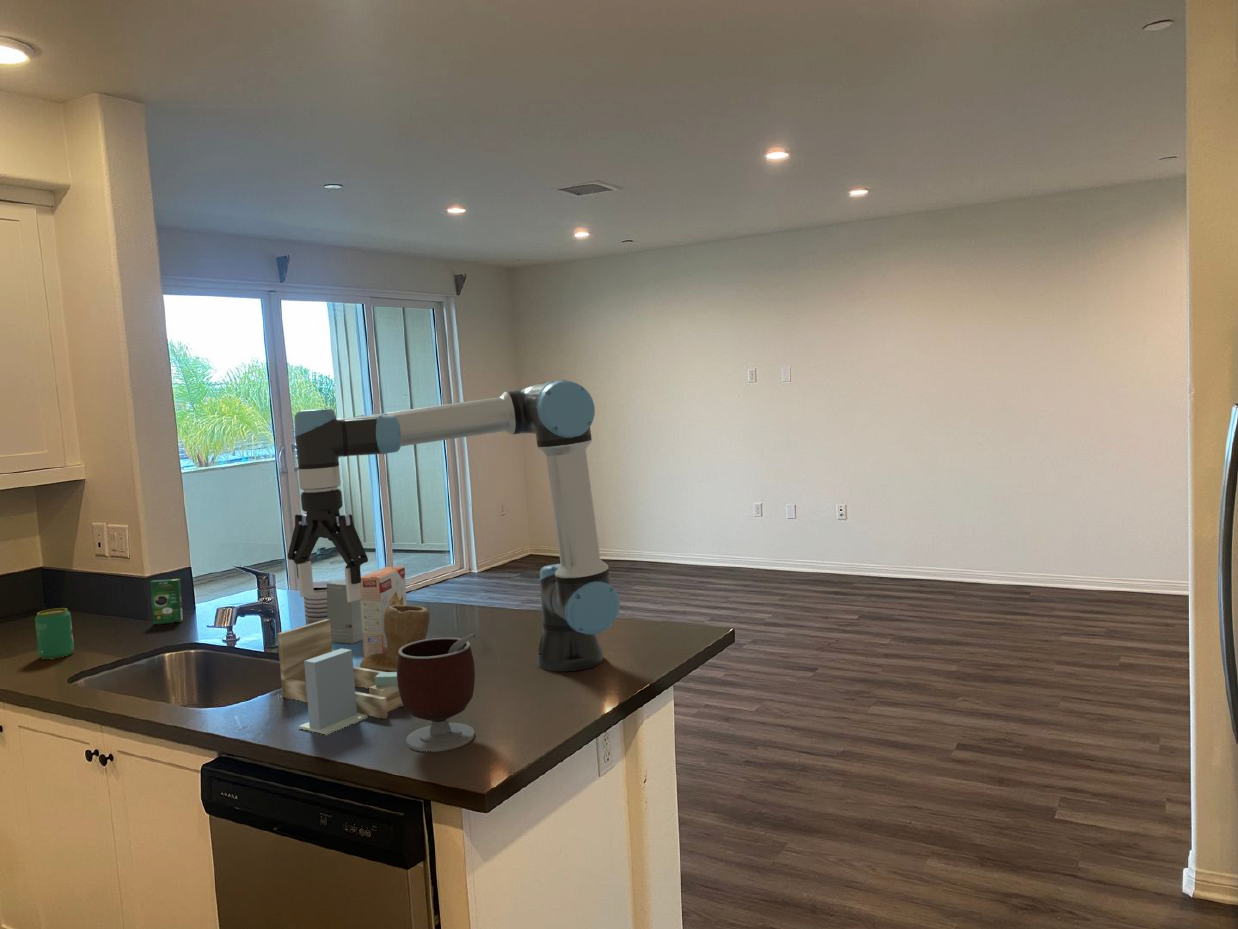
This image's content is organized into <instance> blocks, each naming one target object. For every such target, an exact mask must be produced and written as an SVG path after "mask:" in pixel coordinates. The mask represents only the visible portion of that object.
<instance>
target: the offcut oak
mask: <svg viewBox="0 0 1238 929" xmlns="http://www.w3.org/2000/svg"><path fill="white" fill-rule="evenodd" d="M401 705H403V703H402V700H401V697H400V696H399V697H396V698H394V699H391V700H388V701H387V711H390V712H392V711H394V710H396V709H398V708H397V707H399V706H401ZM401 707H402V706H401ZM395 708H396V709H395ZM399 708H400V707H399ZM393 709H394V710H393ZM391 710H392V711H391Z"/></svg>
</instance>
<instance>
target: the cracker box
mask: <svg viewBox="0 0 1238 929" xmlns="http://www.w3.org/2000/svg"><path fill="white" fill-rule="evenodd" d="M360 591H361V599H360V604H361V620H362V636H363V640H362V650H363V660H364V659H365V658H366V657H368V656H370V655H373V654H379V653H385V652H386V651H387V650H388V645H387V640H386V635H385V629H384V614H385V612H386V610H387V608H388V607H389V606H393V605H402V606H403V605H407V606H408V604H407V602H408V601H407V587H406V570H405V567H404V566H385V567H382V568H380V569H378V570H375V571H372V572H370V573H368V574H365V575H363V576H361V583H360Z"/></svg>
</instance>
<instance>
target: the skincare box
mask: <svg viewBox="0 0 1238 929" xmlns="http://www.w3.org/2000/svg"><path fill="white" fill-rule="evenodd" d="M331 581H332V582H328V583H327V619H330V625H331V638H332V644H334V643H335V644H336V643H337V644H350V645H352V644H353V645H354V644H355V643H359V642H360V641H363V640H362V639H363V636H362V620H361V604H360V599H359V600H356V601H352V602H347V591H346V579H337V580H331Z"/></svg>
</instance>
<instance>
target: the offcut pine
mask: <svg viewBox="0 0 1238 929" xmlns="http://www.w3.org/2000/svg"><path fill="white" fill-rule="evenodd" d="M368 690H369V691H368V692H369V694H370V695H376V696H381V697H386V701H388V700H391V699H394V698H396V697H399V696H400V693H399V689H398V686H377V687H376V685H375V686H372V687H369V689H368Z"/></svg>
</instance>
